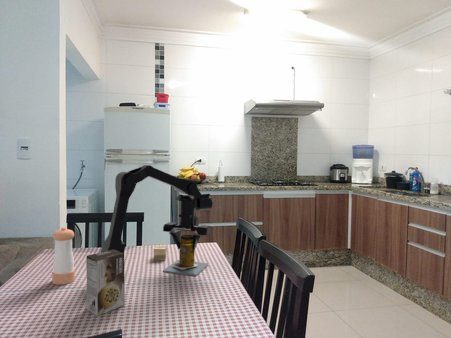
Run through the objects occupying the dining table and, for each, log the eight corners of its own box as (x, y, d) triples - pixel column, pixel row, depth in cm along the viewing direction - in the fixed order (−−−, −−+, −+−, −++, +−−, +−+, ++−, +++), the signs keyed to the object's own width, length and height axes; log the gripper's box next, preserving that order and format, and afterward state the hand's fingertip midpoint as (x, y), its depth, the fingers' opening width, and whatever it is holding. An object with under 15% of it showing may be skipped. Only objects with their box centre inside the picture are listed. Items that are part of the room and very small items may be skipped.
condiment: (198, 265, 137) (199, 236, 136) (182, 270, 130) (182, 239, 130) (187, 261, 142) (188, 233, 141) (170, 265, 136) (171, 236, 135)
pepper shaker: (65, 285, 116) (65, 230, 115) (47, 283, 118) (47, 229, 117) (79, 278, 123) (79, 226, 122) (61, 276, 125) (61, 225, 124)
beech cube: (165, 260, 146) (165, 248, 146) (153, 260, 146) (153, 248, 146) (166, 256, 151) (166, 245, 151) (155, 256, 151) (155, 245, 150)
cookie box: (113, 299, 106) (113, 248, 105) (125, 305, 102) (125, 252, 101) (85, 309, 99) (85, 255, 98) (97, 316, 95) (97, 259, 94)
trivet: (196, 276, 127) (196, 274, 127) (162, 271, 131) (162, 270, 131) (208, 264, 141) (208, 263, 141) (177, 261, 145) (177, 259, 145)
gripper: (215, 209, 140) (214, 246, 141) (174, 206, 146) (173, 242, 146) (206, 214, 130) (205, 254, 130) (162, 210, 135) (162, 249, 135)
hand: (186, 249), depth 136 cm, fingers closed on condiment, 6 cm apart
